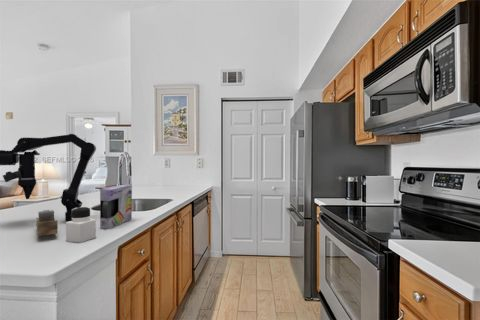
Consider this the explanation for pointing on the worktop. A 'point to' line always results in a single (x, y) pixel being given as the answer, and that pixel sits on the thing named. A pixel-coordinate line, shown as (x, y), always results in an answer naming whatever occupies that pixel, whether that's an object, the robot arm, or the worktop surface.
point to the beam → (46, 227)
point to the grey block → (46, 216)
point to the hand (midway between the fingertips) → (27, 198)
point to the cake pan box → (115, 205)
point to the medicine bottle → (80, 226)
